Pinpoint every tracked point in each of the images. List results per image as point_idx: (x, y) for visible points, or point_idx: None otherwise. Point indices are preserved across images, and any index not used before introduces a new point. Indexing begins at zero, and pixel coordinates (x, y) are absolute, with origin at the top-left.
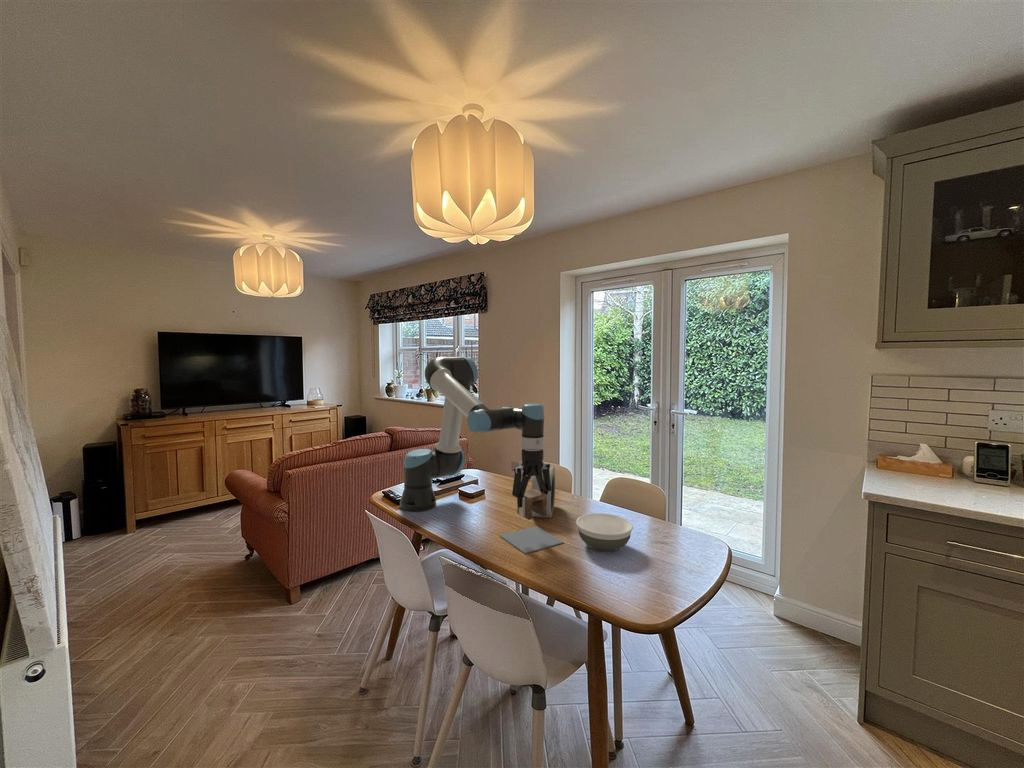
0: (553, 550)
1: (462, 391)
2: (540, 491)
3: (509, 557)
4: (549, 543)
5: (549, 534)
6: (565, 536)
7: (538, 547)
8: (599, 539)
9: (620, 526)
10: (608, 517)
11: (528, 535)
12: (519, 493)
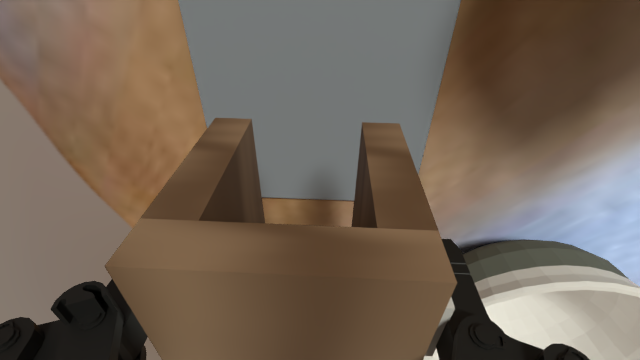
0: (334, 218)
1: None
2: (422, 357)
3: (159, 184)
4: (354, 185)
5: (426, 119)
6: (474, 160)
7: (292, 189)
8: None
9: (613, 323)
10: None
11: (327, 71)
12: (97, 349)
